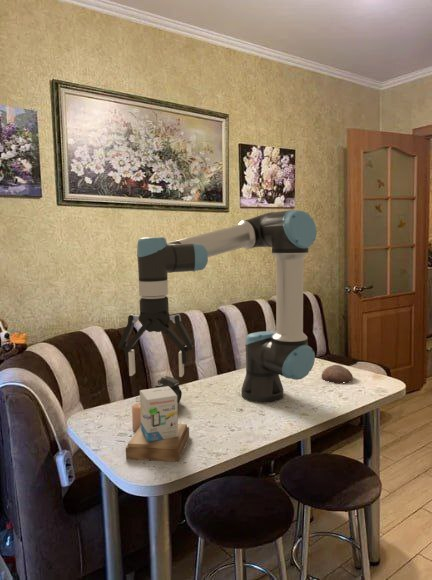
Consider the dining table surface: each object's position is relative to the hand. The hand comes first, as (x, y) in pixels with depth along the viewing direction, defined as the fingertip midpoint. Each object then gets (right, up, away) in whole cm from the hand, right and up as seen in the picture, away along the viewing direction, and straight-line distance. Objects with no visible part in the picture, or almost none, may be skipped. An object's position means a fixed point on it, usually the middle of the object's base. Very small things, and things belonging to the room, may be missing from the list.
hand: (156, 374), depth 117 cm
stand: (0, -20, +2) cm, 20 cm away
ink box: (0, -17, +2) cm, 17 cm away
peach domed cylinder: (-6, -19, +14) cm, 25 cm away
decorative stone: (+64, -13, +57) cm, 87 cm away
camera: (-1, -17, +32) cm, 37 cm away
